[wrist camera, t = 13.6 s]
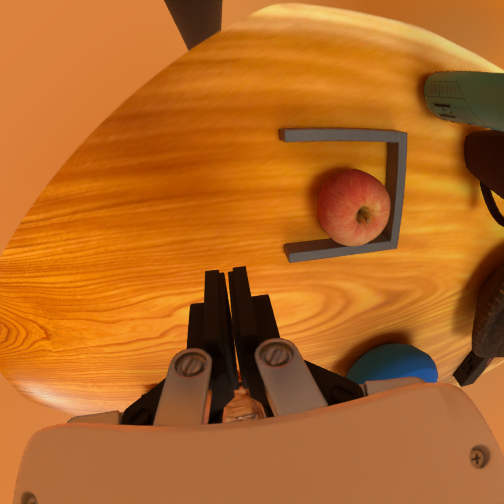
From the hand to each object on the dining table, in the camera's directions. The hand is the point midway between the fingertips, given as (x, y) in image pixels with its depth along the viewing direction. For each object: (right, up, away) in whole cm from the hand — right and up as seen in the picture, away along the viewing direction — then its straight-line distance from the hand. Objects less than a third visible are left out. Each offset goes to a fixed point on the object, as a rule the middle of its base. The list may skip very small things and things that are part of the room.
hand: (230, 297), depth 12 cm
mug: (+34, +15, +19) cm, 42 cm away
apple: (+11, +8, +20) cm, 24 cm away
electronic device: (+60, -27, +44) cm, 79 cm away
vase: (+24, -19, +35) cm, 46 cm away
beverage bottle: (+24, +22, +14) cm, 35 cm away
